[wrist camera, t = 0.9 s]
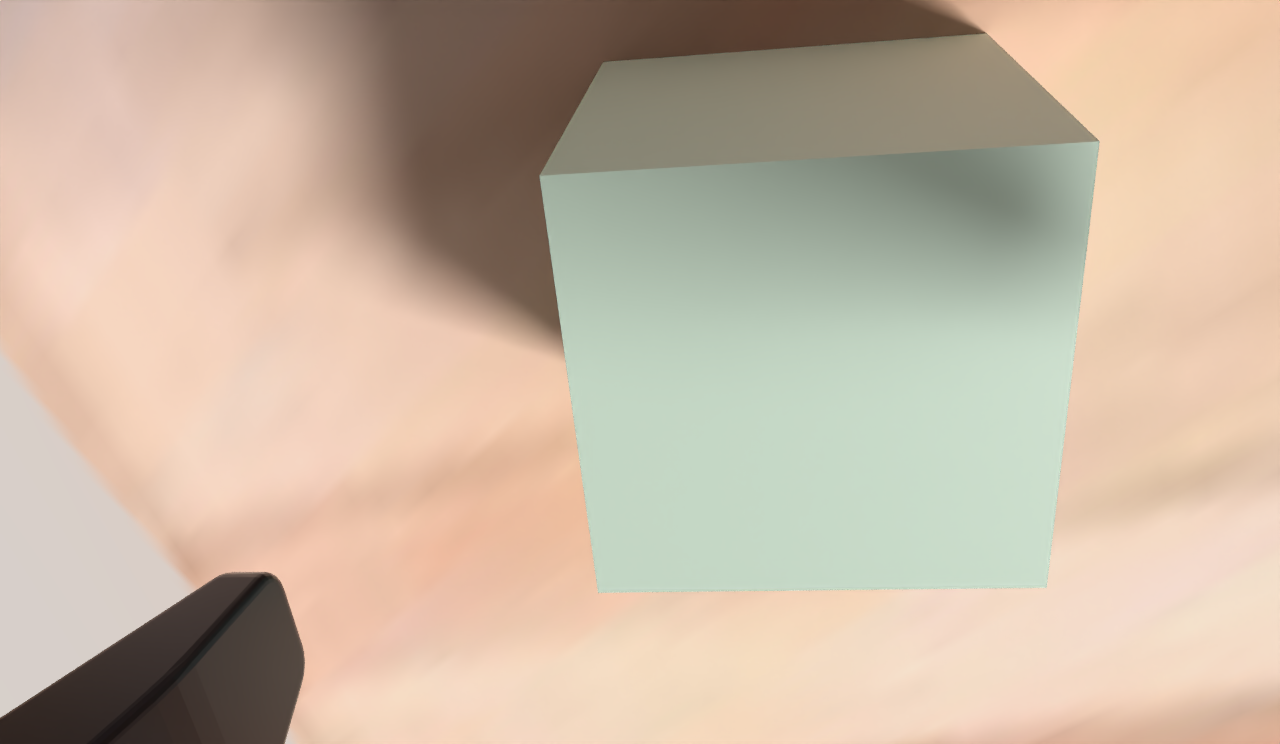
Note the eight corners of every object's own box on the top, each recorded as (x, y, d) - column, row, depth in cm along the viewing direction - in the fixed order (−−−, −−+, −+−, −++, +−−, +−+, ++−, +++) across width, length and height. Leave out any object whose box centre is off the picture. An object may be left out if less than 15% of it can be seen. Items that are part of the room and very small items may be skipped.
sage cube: (985, 32, 13) (1099, 141, 9) (964, 371, 16) (1046, 587, 11) (603, 61, 14) (539, 175, 10) (638, 382, 16) (598, 592, 12)
